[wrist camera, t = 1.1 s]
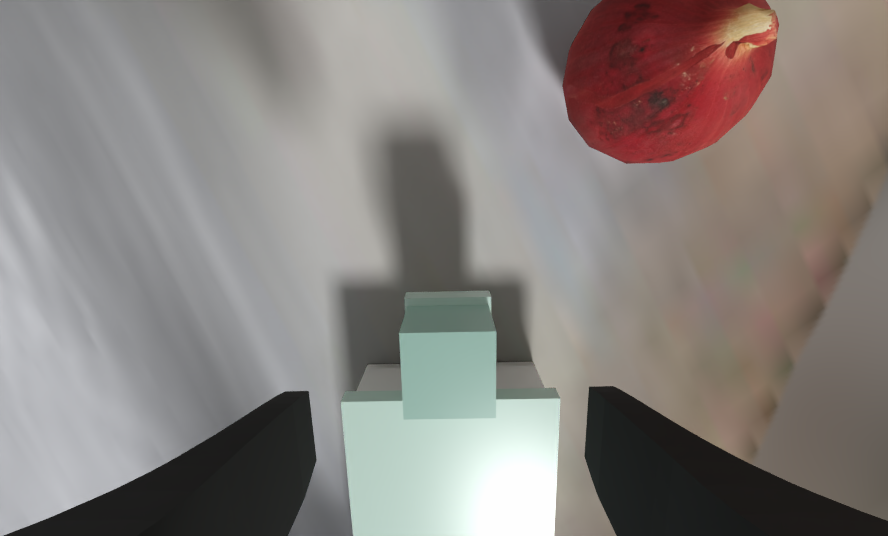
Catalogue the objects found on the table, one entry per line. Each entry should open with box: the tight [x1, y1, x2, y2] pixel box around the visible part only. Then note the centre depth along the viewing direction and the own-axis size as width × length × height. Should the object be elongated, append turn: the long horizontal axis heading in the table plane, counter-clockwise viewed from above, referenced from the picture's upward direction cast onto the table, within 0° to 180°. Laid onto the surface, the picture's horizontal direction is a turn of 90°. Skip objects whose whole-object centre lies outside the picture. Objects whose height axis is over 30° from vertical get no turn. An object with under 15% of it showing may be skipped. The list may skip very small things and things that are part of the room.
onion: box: [563, 0, 779, 164], centre depth 13 cm, size 6×6×8 cm
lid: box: [341, 291, 560, 536], centre depth 17 cm, size 17×9×4 cm, turn 1°
